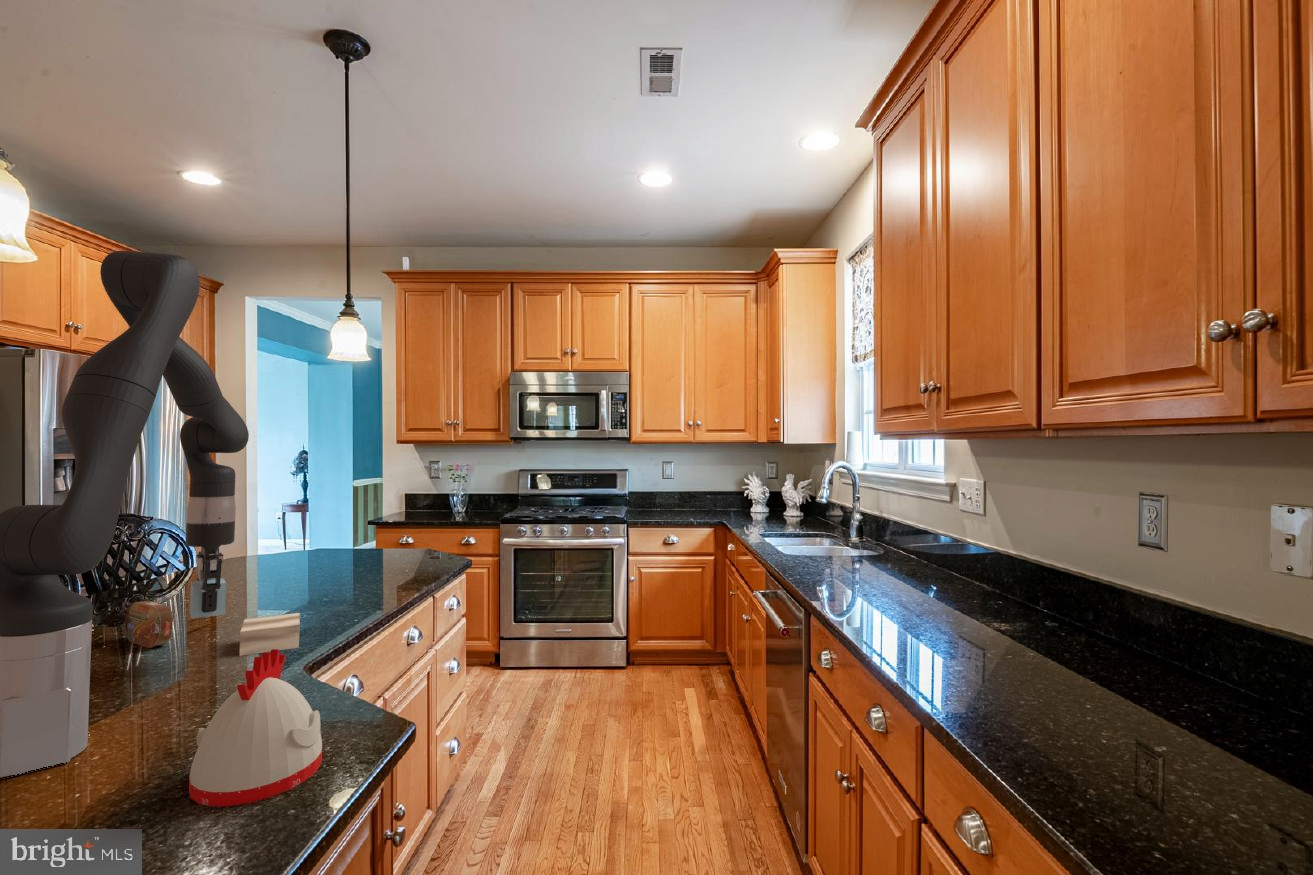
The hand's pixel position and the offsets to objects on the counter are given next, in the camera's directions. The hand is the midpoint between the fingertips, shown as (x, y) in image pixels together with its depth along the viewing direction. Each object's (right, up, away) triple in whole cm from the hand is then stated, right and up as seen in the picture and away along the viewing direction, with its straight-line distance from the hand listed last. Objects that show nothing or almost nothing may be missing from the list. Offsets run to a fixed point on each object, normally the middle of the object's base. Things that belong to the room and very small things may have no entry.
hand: (207, 608), depth 112 cm
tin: (-20, -10, +10) cm, 25 cm away
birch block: (+5, -11, +10) cm, 16 cm away
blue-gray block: (0, -1, 0) cm, 1 cm away
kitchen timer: (+36, -10, -38) cm, 53 cm away
